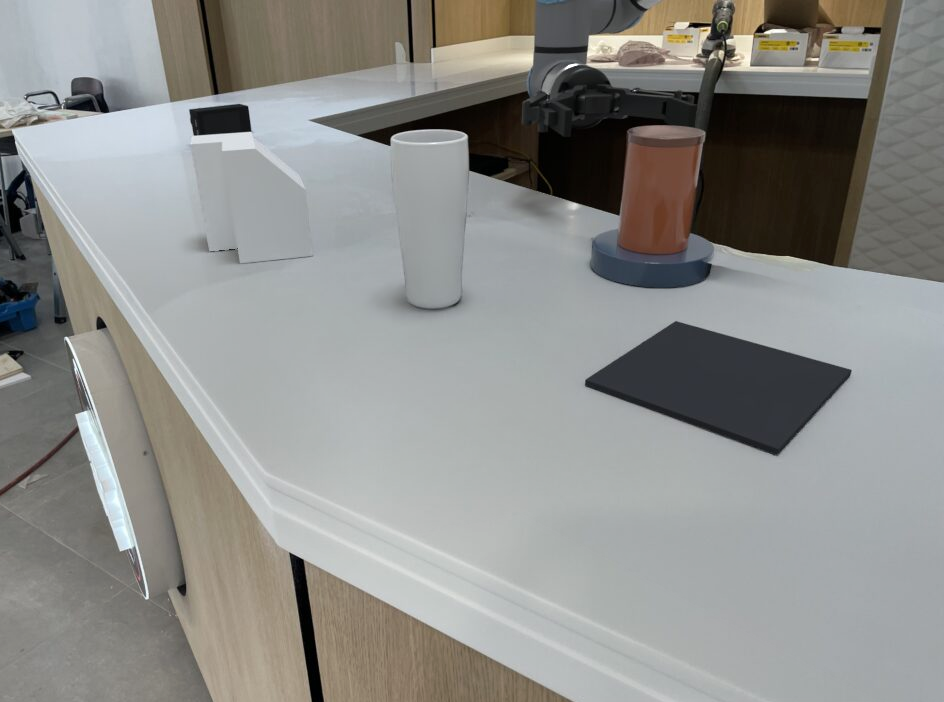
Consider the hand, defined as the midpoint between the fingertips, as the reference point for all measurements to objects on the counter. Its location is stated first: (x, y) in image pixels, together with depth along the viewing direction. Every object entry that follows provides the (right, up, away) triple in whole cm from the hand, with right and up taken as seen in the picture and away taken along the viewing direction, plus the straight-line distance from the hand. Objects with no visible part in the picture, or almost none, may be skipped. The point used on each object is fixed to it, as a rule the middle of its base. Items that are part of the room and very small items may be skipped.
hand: (630, 121), depth 78 cm
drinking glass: (-21, -20, -9) cm, 31 cm away
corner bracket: (-41, -12, +7) cm, 44 cm away
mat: (0, -28, -24) cm, 37 cm away
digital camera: (-62, +19, +66) cm, 93 cm away
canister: (+1, -14, -3) cm, 14 cm away
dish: (+1, -16, -2) cm, 16 cm away
